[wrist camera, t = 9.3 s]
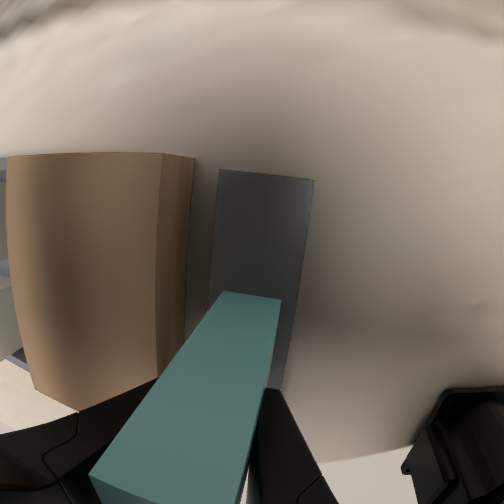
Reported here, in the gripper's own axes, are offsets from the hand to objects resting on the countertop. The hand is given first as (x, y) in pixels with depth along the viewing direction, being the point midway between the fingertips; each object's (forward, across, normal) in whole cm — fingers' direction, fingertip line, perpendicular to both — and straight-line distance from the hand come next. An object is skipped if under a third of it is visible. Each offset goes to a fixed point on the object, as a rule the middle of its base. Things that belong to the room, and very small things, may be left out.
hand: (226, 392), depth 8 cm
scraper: (+5, 0, 0) cm, 5 cm away
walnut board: (+5, +7, 0) cm, 9 cm away
